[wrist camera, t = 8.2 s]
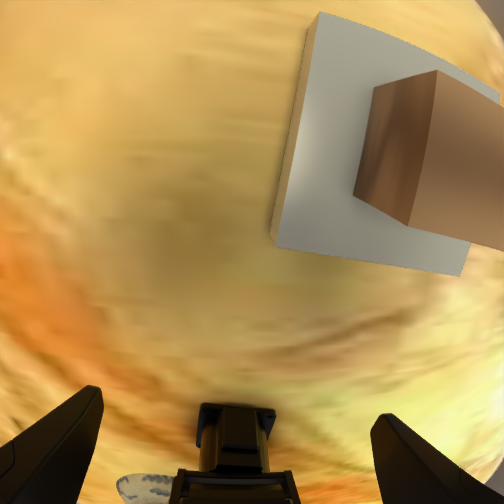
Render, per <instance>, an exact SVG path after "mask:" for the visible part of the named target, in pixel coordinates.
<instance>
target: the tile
mask: <svg viewBox="0 0 504 504" xmlns="http://www.w3.org/2000/svg"><path fill="white" fill-rule="evenodd" d="M434 70H439V71H441V72H443V73H445V74H447V75H449V76H451V77H453V78H455V79H456V80H458V81H460V82H462V83H464V84H466V85H467V86H469V87H471V88H472V89H474V90H476V91H478V92H479V93H481V94H483V95H484V96H486V97H487V98H489V99H491V100H492V101H494V102H495V103H497V104H498V105H499V101H500V93H499V92H497V91H496V90H494V89H493V88H491V87H490V86H488V85H487V84H485V83H483V82H482V81H480V80H479V79H477V78H475V77H474V76H472V75H470V74H469V73H467V72H465V71H463V70H462V69H460V68H458V67H456V66H454V65H453V64H451V63H449V62H447V61H445V60H443V59H441V58H439V57H437V56H435V55H433V54H431V53H429V52H427V51H425V50H423V49H421V48H419V47H417V46H415V45H412V44H410V43H408V42H406V41H403V40H401V39H399V38H396V37H394V36H391V35H389V34H386V33H384V32H381V31H379V30H376V29H373V28H370V27H368V26H365V25H362V24H359V23H356V22H353V21H350V20H347V19H344V18H341V17H337V16H334V15H330V14H327V13H323V12H319V13H318V15H317V16H316V17H315V19H314V20H313V22H312V23H311V25H310V26H309V27H308V30H307V36H306V42H305V47H304V53H303V58H302V64H301V69H300V75H299V80H298V86H297V91H296V96H295V102H294V107H293V112H292V118H291V123H290V128H289V134H288V139H287V144H286V149H285V155H284V160H283V165H282V170H281V175H280V181H279V186H278V191H277V196H276V201H275V206H274V211H273V216H272V221H271V226H270V234H271V237H272V240H273V242H274V245H275V247H278V248H284V249H290V250H297V251H303V252H310V253H316V254H322V255H329V256H335V257H341V258H348V259H354V260H360V261H366V262H373V263H379V264H385V265H391V266H397V267H403V268H410V269H416V270H422V271H428V272H434V273H440V274H446V275H452V276H458V277H460V274H461V272H462V269H463V266H464V263H465V260H466V257H467V254H468V251H469V248H470V245H471V242H467V241H463V240H460V239H456V238H452V237H448V236H444V235H440V234H436V233H432V232H428V231H424V230H420V229H416V228H411V227H407V226H406V225H404V224H402V223H401V222H399V221H397V220H396V219H394V218H392V217H390V216H389V215H387V214H385V213H383V212H382V211H380V210H378V209H376V208H375V207H373V206H371V205H369V204H367V203H366V202H364V201H362V200H360V199H358V198H357V197H355V196H353V191H354V187H355V182H356V178H357V173H358V169H359V164H360V159H361V155H362V150H363V145H364V140H365V134H366V129H367V124H368V118H369V113H370V107H371V101H372V95H373V89H374V87H376V86H380V85H383V84H386V83H390V82H393V81H396V80H400V79H403V78H407V77H411V76H414V75H418V74H422V73H426V72H430V71H434Z"/></svg>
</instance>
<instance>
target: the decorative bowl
mask: <svg viewBox="0 0 504 504" xmlns="http://www.w3.org/2000/svg"><path fill="white" fill-rule="evenodd" d="M173 478H175V477H172V476H166V475H158V474H130V475H126V476H123V477H121V478H120V479H119V480H118V481H117V483H116V486H117V489H118V492H119V494H120V496H121V498H122V499H123V500H124V502H125V503H126V504H167V502H168V499H169V497H170V494H171V488H172V480H173Z"/></svg>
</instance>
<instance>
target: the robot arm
mask: <svg viewBox="0 0 504 504" xmlns="http://www.w3.org/2000/svg"><path fill="white" fill-rule="evenodd" d="M103 411H104V403H103V397H102V391H101V389H100V388H99V387H96V386H92V385H87V386H85V387H84V388H83V389H81V390H80V391H79V392H77V393H76V394H74V395H73V396H72V397H70V398H69V399H68V400H66V401H65V402H63V403H62V404H61V405H59V406H58V407H57V408H55V409H54V410H52V411H51V412H50V413H48V414H47V415H45V416H44V417H43V418H41V419H40V420H38V421H37V422H36V423H34V424H33V425H32V426H30V427H29V428H27V429H26V430H25V431H23V432H22V433H20V434H19V435H18V436H16V437H15V438H13V440H10V441H9V442H8V443H6V444H5V445H3V446H2V447H0V504H76V503H77V500H78V497H79V494H80V491H81V488H82V485H83V482H84V479H85V476H86V473H87V470H88V467H89V464H90V462H91V459H92V456H93V453H94V450H95V445H96V441H97V437H98V432H99V428H100V424H101V420H102V416H103ZM275 419H276V412H275V411H274V410H265V409H251V408H240V407H229V406H220V405H212V404H202V405H201V406H200V411H199V420H198V429H197V439H196V446H197V447H198V448H200V461H199V471H189V470H186V469H178V473H177V476H175V478H173V480H172V488H171V494H170V497H169V499H168V502H167V504H301V502H300V499H299V495H298V492H297V489H296V485H295V482H294V478H293V475H292V472H291V470H287V471H284V472H270V469H269V460H268V450H267V440H268V437H269V435H270V432H271V429H272V427H273V424H274V421H275ZM370 437H371V444H372V451H373V458H374V466H375V471H376V476H377V480H378V484H379V488H380V493H381V497H382V501H383V504H504V496H502V495H501V494H499V493H497V492H496V491H494V490H492V489H490V488H489V487H487V486H486V485H484V484H483V483H481V482H479V481H478V480H476V479H475V478H473V477H472V476H471V475H469V474H468V473H467V472H465V471H464V470H463V469H461V468H459V466H457V465H456V464H455V463H454V462H452V461H451V460H450V459H449V458H447V457H446V456H445V455H443V454H442V453H441V452H440V451H438V450H437V449H436V448H435V447H433V446H432V445H431V444H430V443H428V442H427V441H426V440H425V439H423V438H422V437H421V436H420V435H418V434H417V433H416V432H415V431H413V430H412V429H411V428H410V427H408V426H407V425H406V424H405V423H403V422H402V421H401V420H400V419H399V418H397V417H396V416H395V415H394V414H392V413H386V414H381V415H380V416H379V417H378V419H377V420H376V422H375V424H374V425H373V427H372V428H371V432H370Z"/></svg>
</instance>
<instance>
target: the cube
mask: <svg viewBox="0 0 504 504" xmlns="http://www.w3.org/2000/svg"><path fill="white" fill-rule="evenodd" d="M353 196H355V197H357V198H358V199H360V200H362V201H364V202H366V203H367V204H369V205H371V206H373V207H375V208H376V209H378V210H380V211H382V212H383V213H385V214H387V215H389V216H390V217H392V218H394V219H396V220H397V221H399V222H401V223H402V224H404V225H406V226H407V227H411V228H416V229H420V230H424V231H428V232H432V233H436V234H440V235H444V236H448V237H452V238H456V239H460V240H463V241H467V242H471V243H475V244H478V245H482V246H486V247H489V248H493V249H496V250H500V251H503V252H504V108H503V107H501V106H500V105H498V104H497V103H495V102H494V101H492V100H491V99H489V98H487V97H486V96H484V95H483V94H481V93H479V92H478V91H476V90H474V89H472V88H471V87H469V86H467V85H466V84H464V83H462V82H460V81H458V80H456V79H455V78H453V77H451V76H449V75H447V74H445V73H443V72H441V71H439V70H434V71H430V72H426V73H422V74H418V75H414V76H411V77H407V78H403V79H400V80H396V81H393V82H390V83H386V84H383V85H380V86H376V87H374V89H373V95H372V101H371V107H370V113H369V118H368V124H367V129H366V134H365V140H364V145H363V150H362V155H361V159H360V164H359V169H358V173H357V178H356V182H355V187H354V191H353Z"/></svg>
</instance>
